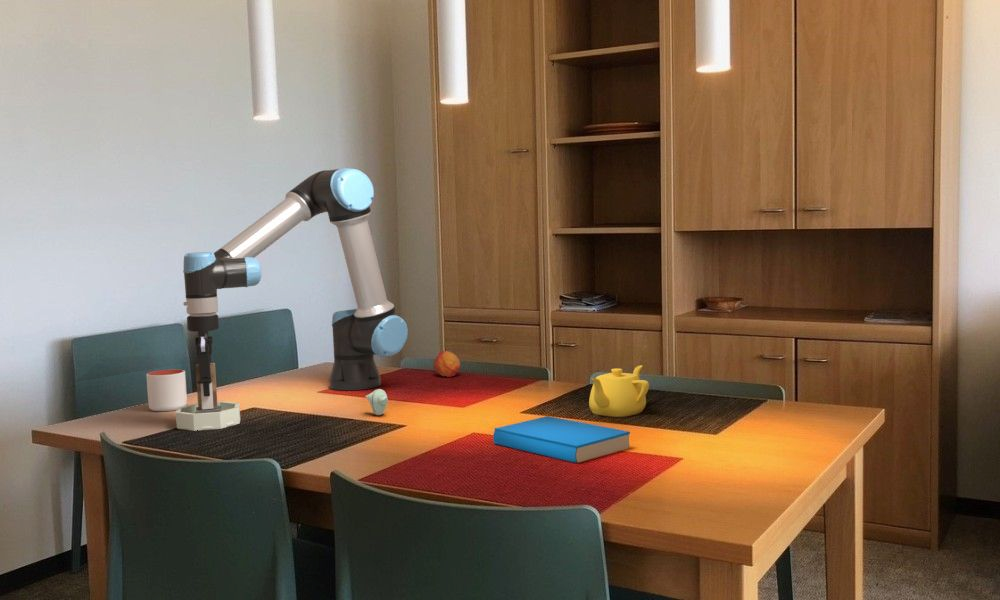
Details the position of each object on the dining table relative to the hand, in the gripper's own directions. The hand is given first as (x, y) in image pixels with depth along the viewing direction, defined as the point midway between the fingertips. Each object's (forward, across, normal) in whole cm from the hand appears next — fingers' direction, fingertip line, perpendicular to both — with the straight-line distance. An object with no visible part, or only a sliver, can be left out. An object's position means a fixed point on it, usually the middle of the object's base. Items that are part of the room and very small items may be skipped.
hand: (208, 407), depth 248 cm
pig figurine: (+4, +7, +42) cm, 43 cm away
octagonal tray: (+4, 0, 0) cm, 4 cm away
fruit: (+4, -43, +69) cm, 81 cm away
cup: (+4, -25, -12) cm, 28 cm away
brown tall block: (+2, 0, 0) cm, 2 cm away
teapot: (+4, +27, +100) cm, 104 cm away
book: (+5, +54, +76) cm, 93 cm away
